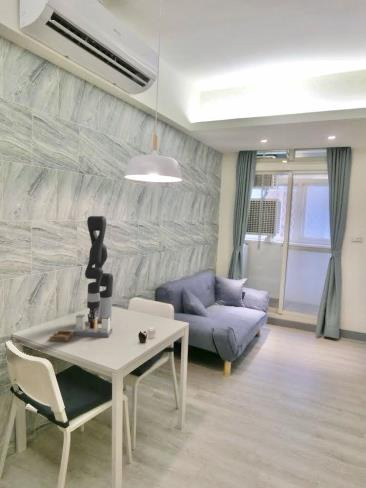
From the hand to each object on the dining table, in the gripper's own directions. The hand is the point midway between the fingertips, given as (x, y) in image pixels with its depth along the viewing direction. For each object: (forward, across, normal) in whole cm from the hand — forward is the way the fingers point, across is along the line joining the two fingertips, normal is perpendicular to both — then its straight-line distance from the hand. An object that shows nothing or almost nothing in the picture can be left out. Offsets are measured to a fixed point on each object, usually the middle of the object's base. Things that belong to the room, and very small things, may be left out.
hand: (93, 326), depth 198 cm
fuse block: (+4, 0, 0) cm, 4 cm away
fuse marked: (+2, 0, 0) cm, 2 cm away
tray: (+4, +10, -15) cm, 19 cm away
